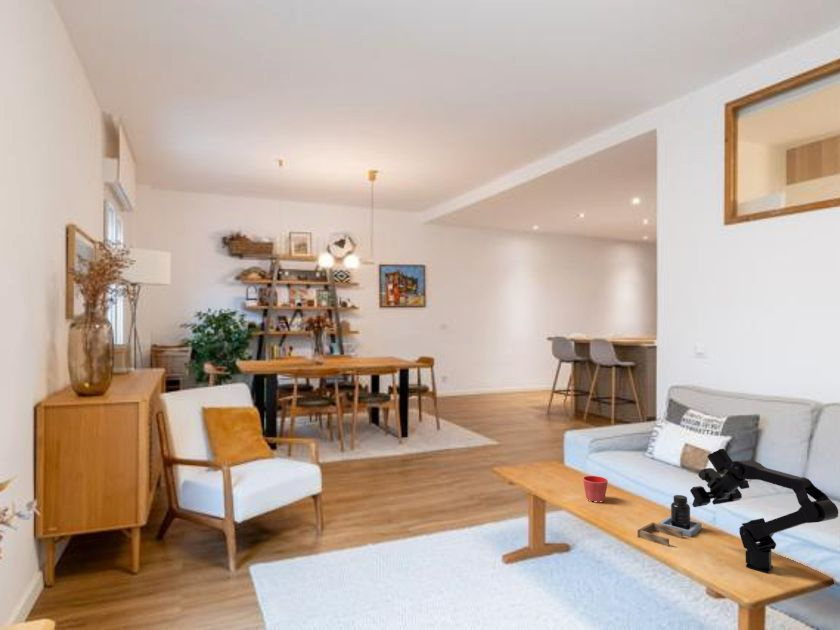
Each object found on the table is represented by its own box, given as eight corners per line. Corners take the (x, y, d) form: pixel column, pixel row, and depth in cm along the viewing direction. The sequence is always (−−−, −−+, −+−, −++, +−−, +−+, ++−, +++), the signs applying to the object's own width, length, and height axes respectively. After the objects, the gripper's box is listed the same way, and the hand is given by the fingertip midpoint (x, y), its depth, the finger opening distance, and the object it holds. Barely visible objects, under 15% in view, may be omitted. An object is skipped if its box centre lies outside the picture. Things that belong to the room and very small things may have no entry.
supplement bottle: (668, 523, 215) (667, 493, 215) (685, 524, 215) (685, 493, 215) (675, 530, 208) (675, 499, 208) (693, 530, 208) (693, 499, 208)
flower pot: (602, 496, 251) (602, 475, 251) (611, 504, 240) (611, 482, 240) (580, 496, 251) (579, 475, 251) (588, 504, 240) (587, 482, 240)
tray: (701, 528, 211) (701, 523, 211) (690, 537, 203) (690, 531, 203) (670, 520, 220) (670, 515, 220) (658, 528, 211) (658, 523, 211)
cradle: (682, 537, 203) (682, 530, 203) (667, 546, 195) (667, 539, 195) (652, 528, 211) (652, 522, 211) (637, 536, 204) (637, 530, 204)
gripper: (734, 461, 197) (710, 482, 208) (693, 465, 192) (671, 487, 202) (753, 488, 190) (727, 509, 200) (712, 494, 184) (687, 515, 195)
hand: (703, 504), depth 199 cm, fingers open, 9 cm apart
